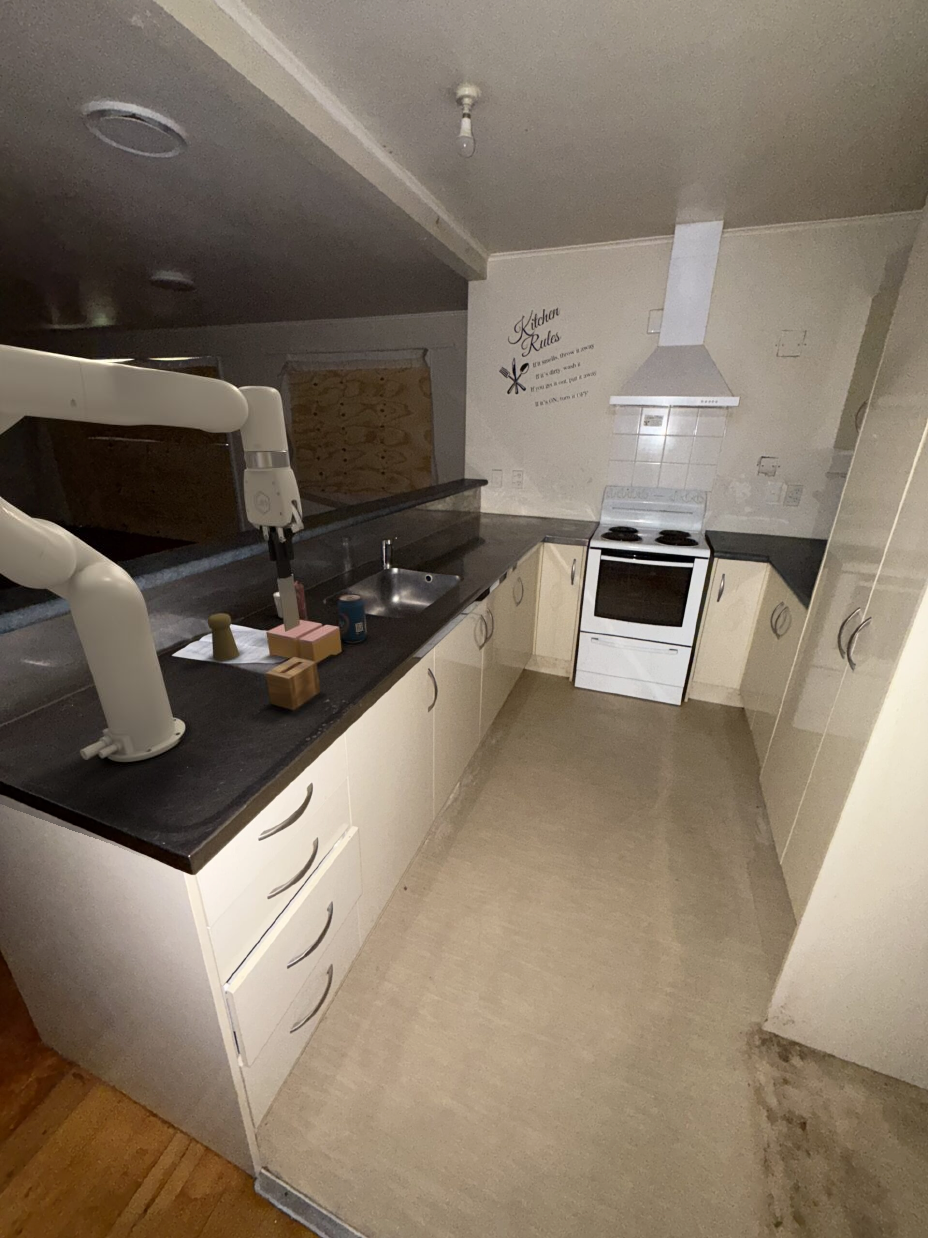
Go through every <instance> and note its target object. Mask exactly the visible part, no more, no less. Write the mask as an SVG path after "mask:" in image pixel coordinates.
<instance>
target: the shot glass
mask: <svg viewBox="0 0 928 1238" xmlns="http://www.w3.org/2000/svg"><path fill="white" fill-rule="evenodd" d="M272 596H273V599H274V604H275V607H276V612H277V616H278V617H279V618H280V619H283V614H282V608H281V602H280V595H279V591H277V592H274V593H273V595H272Z"/></svg>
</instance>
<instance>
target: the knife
mask: <svg viewBox="0 0 928 1238" xmlns="http://www.w3.org/2000/svg"><path fill="white" fill-rule="evenodd" d="M271 535H272V541H273V548H274V554H275V561H274V562H275V567H276V573H277V579H276V581H277V588H278V592H279V595H280V602H281V608H282V614H283V618H282V621H283V624H284V627H285V631H289V630H291V629H293V628H295V627H297V626H299V625H300V620H299V613H298V606H297V599H296V592H295V585H294V581H295V580H294V579H295V578H294V574H293V573H292V565H291V560H290V561H287V562H284V563H283V562H281V561H280V557H279V551H278V542H280V540H279V534H278V531H275V532H271Z"/></svg>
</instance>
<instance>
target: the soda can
mask: <svg viewBox="0 0 928 1238" xmlns="http://www.w3.org/2000/svg"><path fill="white" fill-rule="evenodd" d="M337 611H338V622H339V631H340V638H341V639H342V640H343V641H344V642H345V643H348V644H356V643H360V642H363V641H364V640H365V639H366V637H367V635H368V631H367V630H368V629H367V619H366V606H365V601H364V599H363V598H362V595H361V594H358V593H346V594H342V595H340V596H339V598H338V602H337Z"/></svg>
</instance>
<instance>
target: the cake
mask: <svg viewBox="0 0 928 1238" xmlns="http://www.w3.org/2000/svg"><path fill="white" fill-rule="evenodd" d="M321 627H323V623H320V622H315V621H310V620H308V621H304V620H300V625H299V626H297V627H295V628H293V629H291V630H289V631H285V627H284V623H283V624H280V625H278V626H276V627H274V628H271V629H269V630H267V631H266V633H265V634H266V640H267V646H268V652H269V657H272V656H273V655H274V656H277V657H278V656H279V657H283V658H287V659H291V658H293V657H297V658H301V659H302V657H301V650H300V643H299V639H300V638H302V637H304V636H305V635H307V634H309V633H311V632H313V631H315V630H317V629H319V628H321Z"/></svg>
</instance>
